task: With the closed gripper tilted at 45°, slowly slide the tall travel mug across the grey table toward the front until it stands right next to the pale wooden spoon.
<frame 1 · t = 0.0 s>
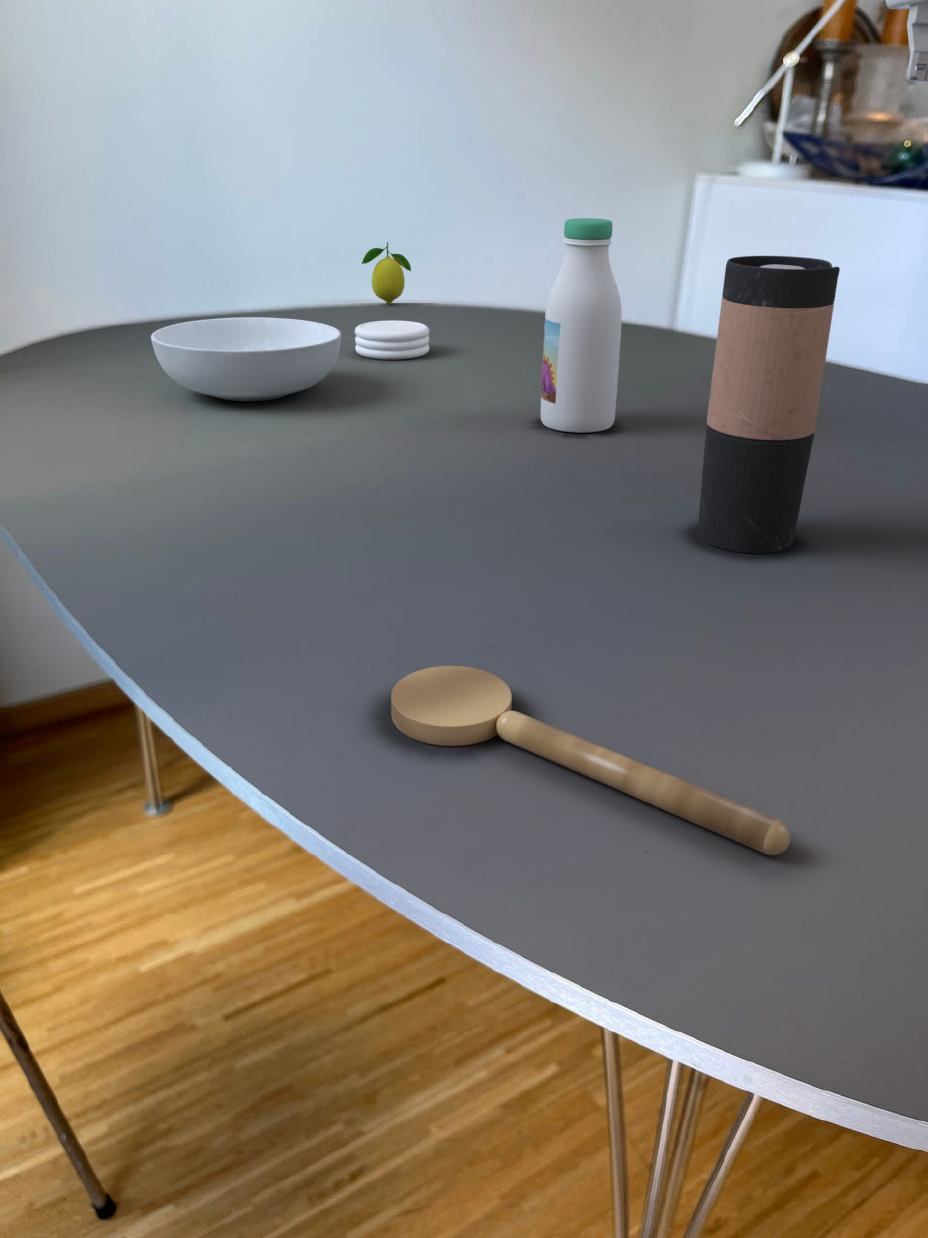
coaster: (392, 354, 139), on the table
wooden spoon: (559, 760, 51), on the table
serving bowl: (252, 394, 119), on the table
lemon: (387, 305, 175), on the table
milk bottle: (576, 426, 108), on the table
travel mug: (744, 538, 79), on the table
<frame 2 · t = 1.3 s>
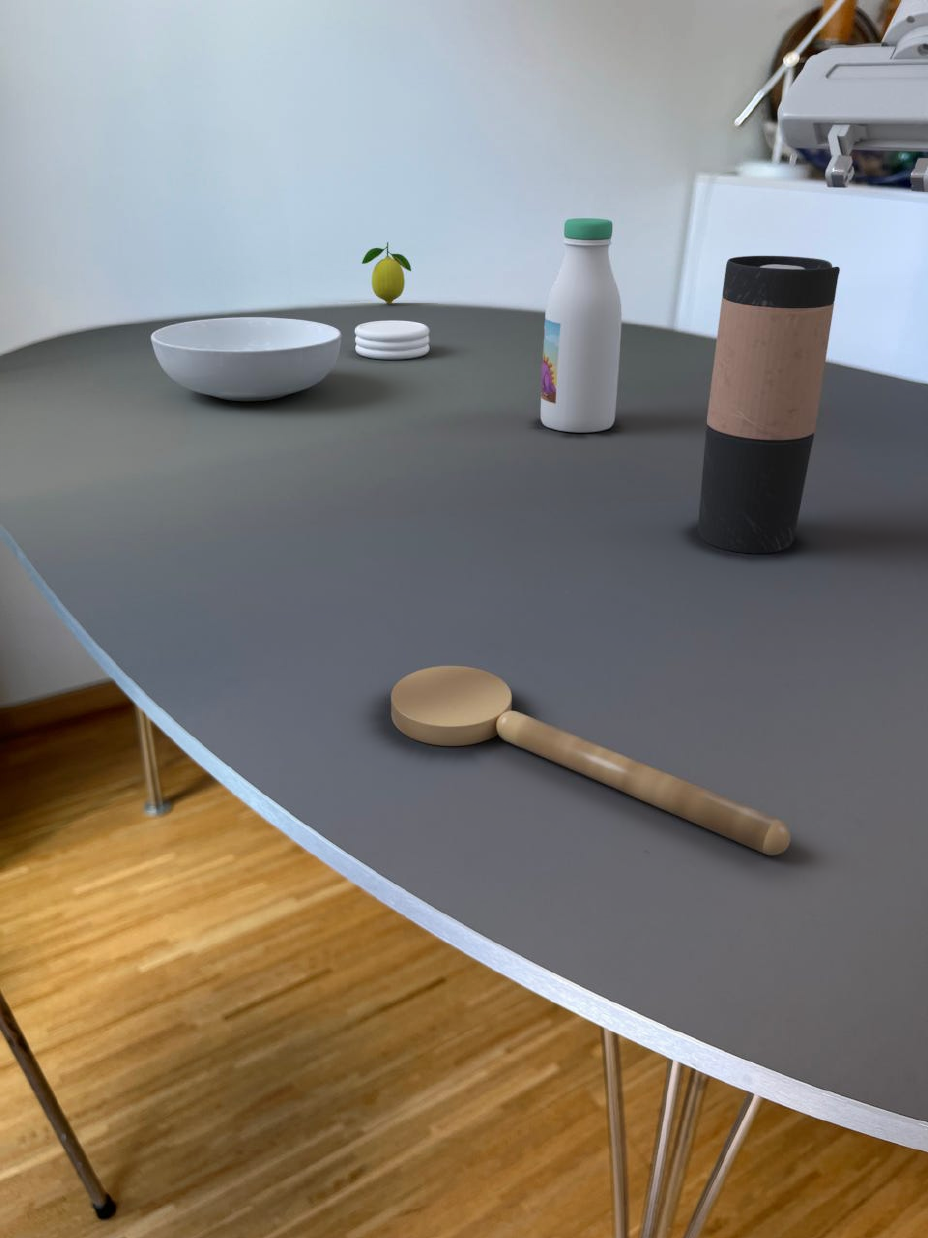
hand: (876, 183, 78), 24 cm above the table, tool tilted 45°, fingers open, 5 cm apart
nothing on the table moved.
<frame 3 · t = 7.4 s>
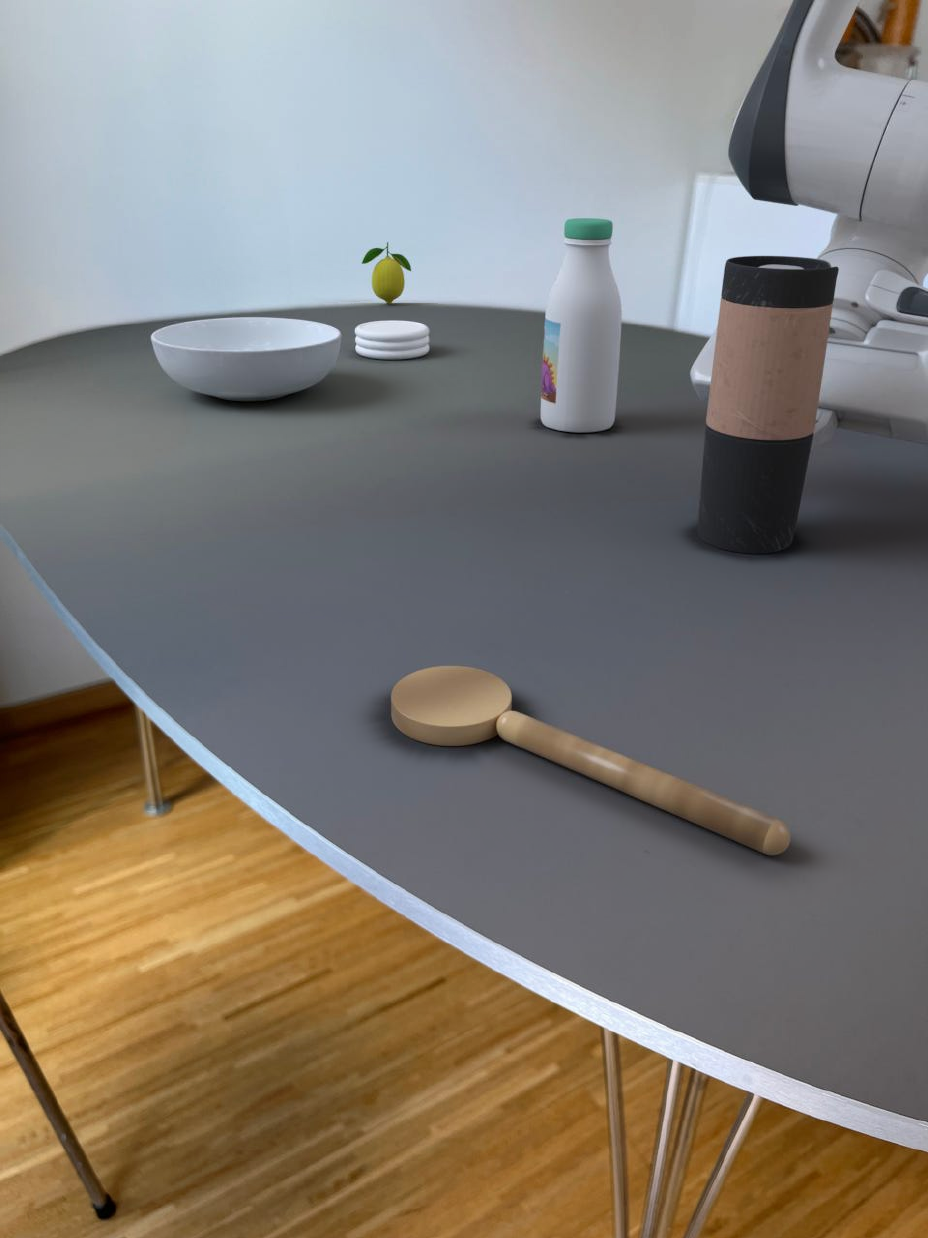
hand: (780, 462, 80), 5 cm above the table, tool tilted 45°, fingers closed
travel mug: (744, 538, 79), on the table, touching gripper
everything else where it was.
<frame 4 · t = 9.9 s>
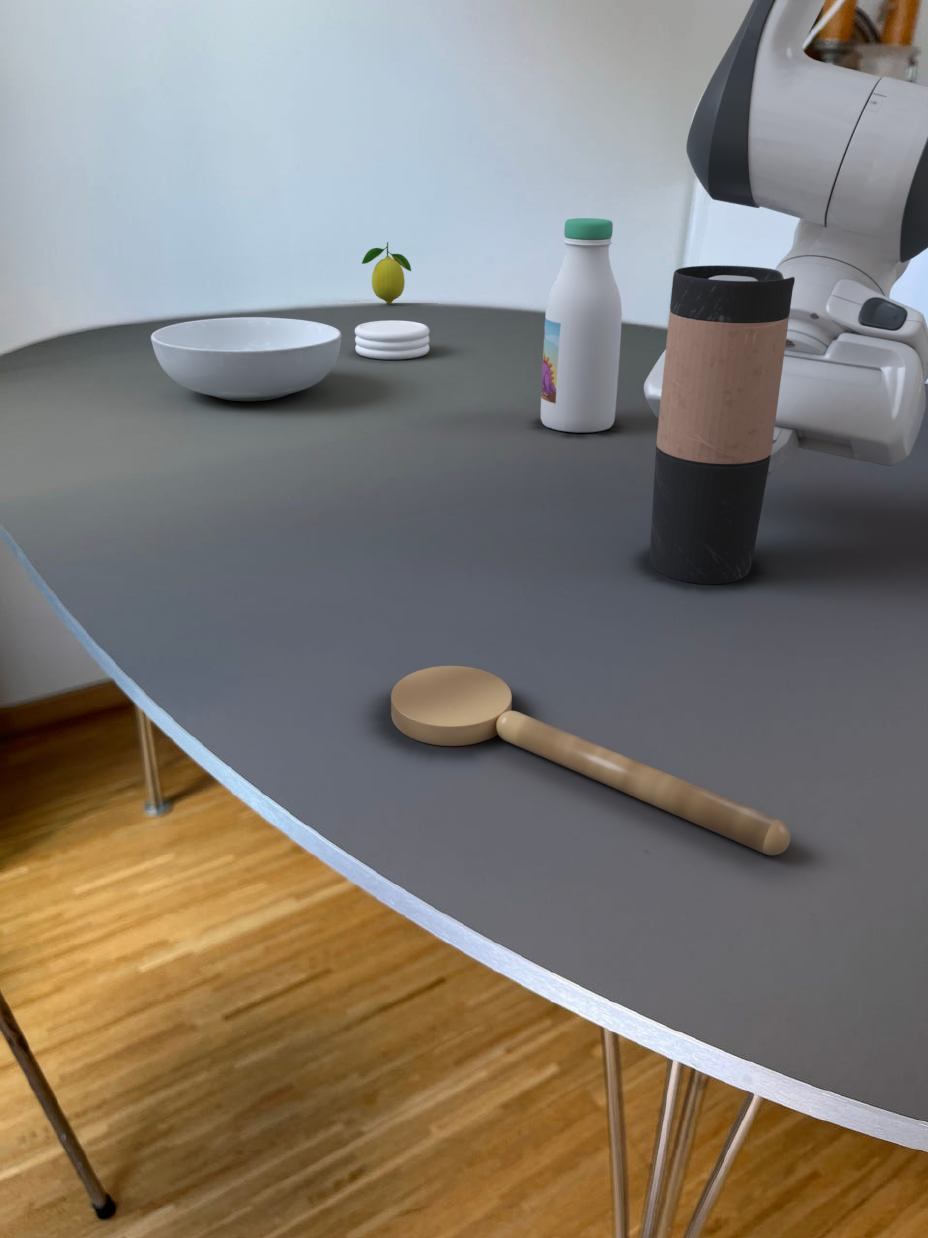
hand: (736, 484, 75), 5 cm above the table, tool tilted 45°, fingers closed
travel mug: (699, 567, 74), on the table, touching gripper
everything else where it was.
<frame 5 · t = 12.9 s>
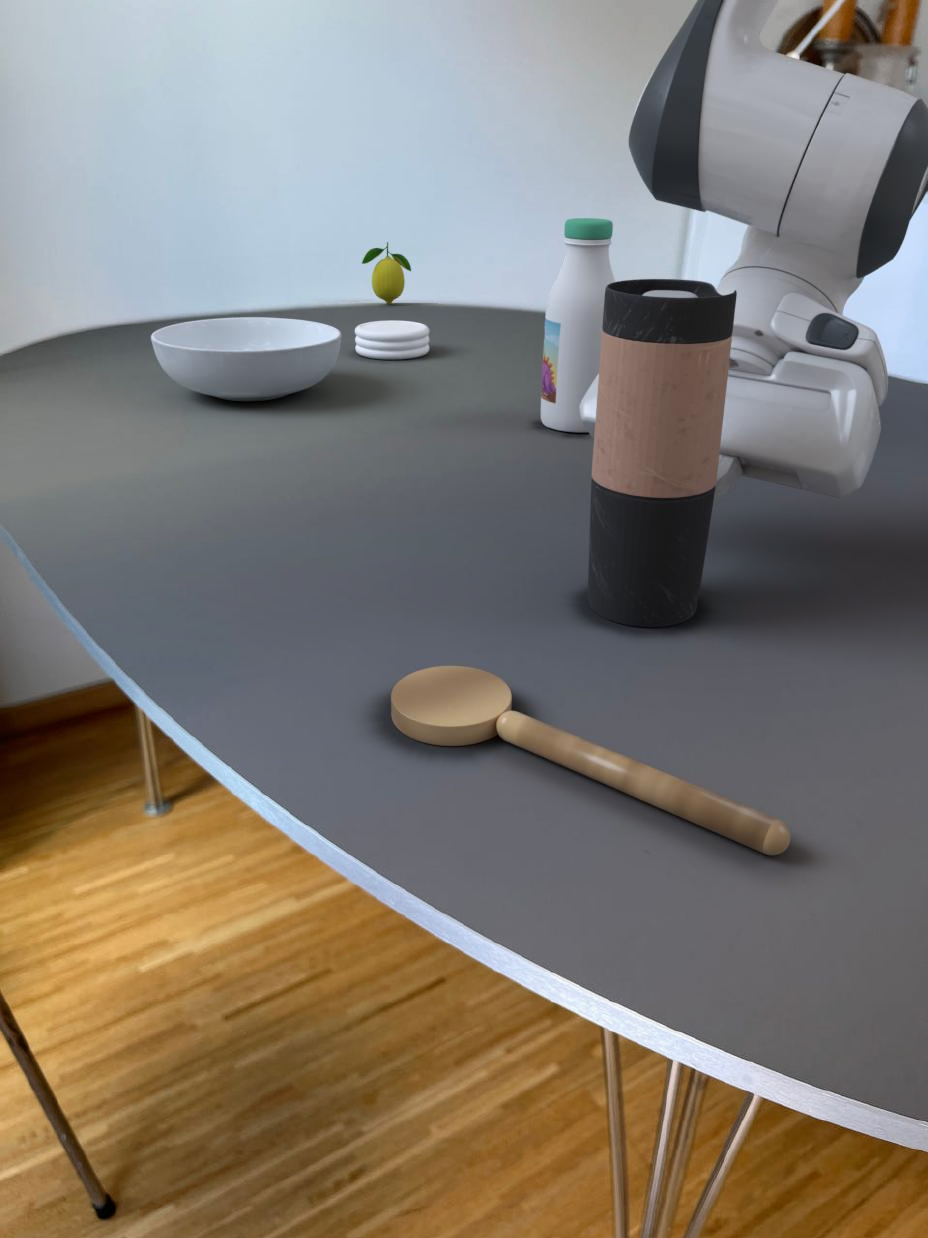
hand: (674, 516, 69), 5 cm above the table, tool tilted 45°, fingers closed, pressing on travel mug
travel mug: (641, 606, 68), on the table, touching gripper
everything else where it was.
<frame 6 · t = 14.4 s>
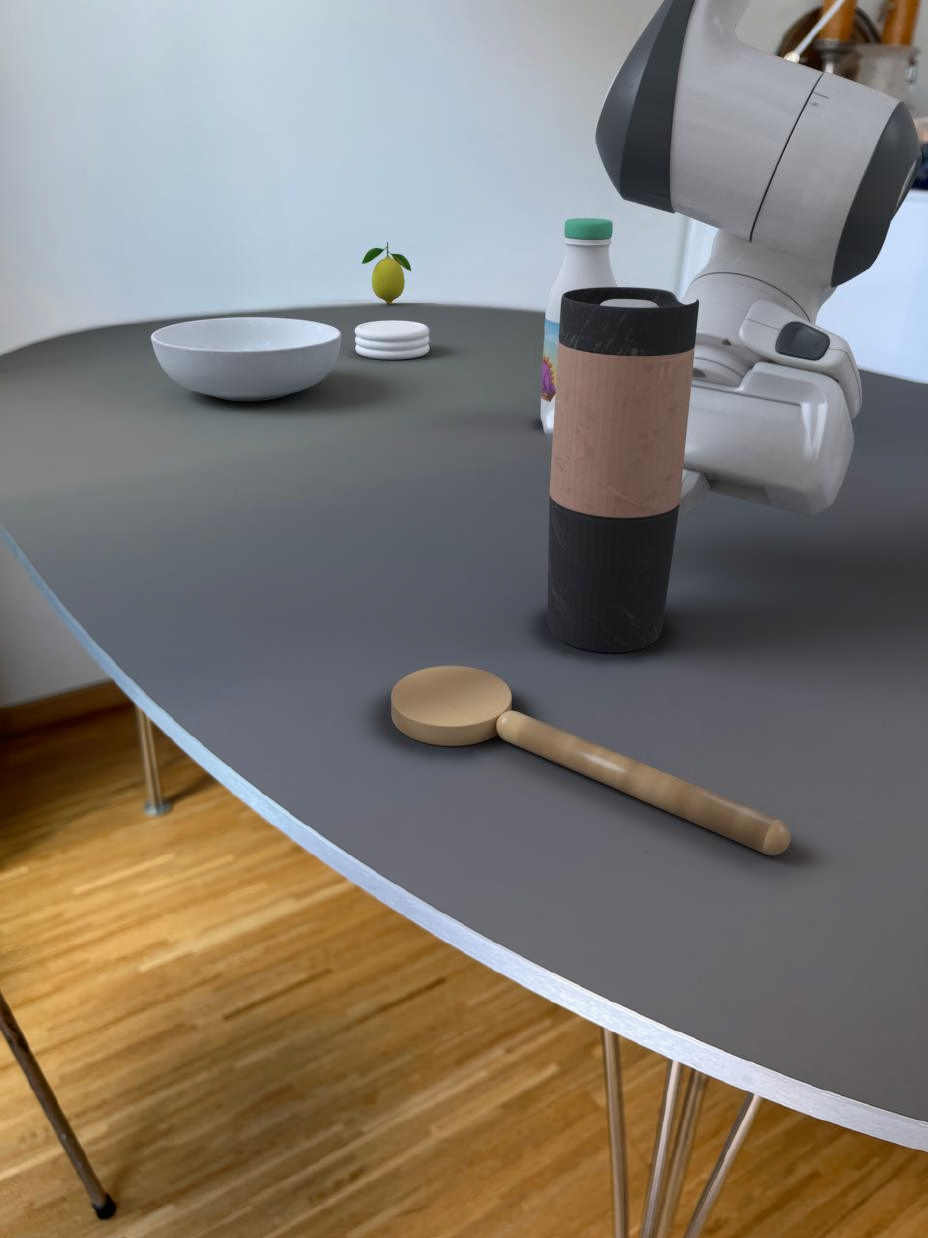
hand: (638, 534, 65), 5 cm above the table, tool tilted 45°, fingers closed, pressing on travel mug
travel mug: (603, 629, 65), on the table, touching gripper
everything else where it was.
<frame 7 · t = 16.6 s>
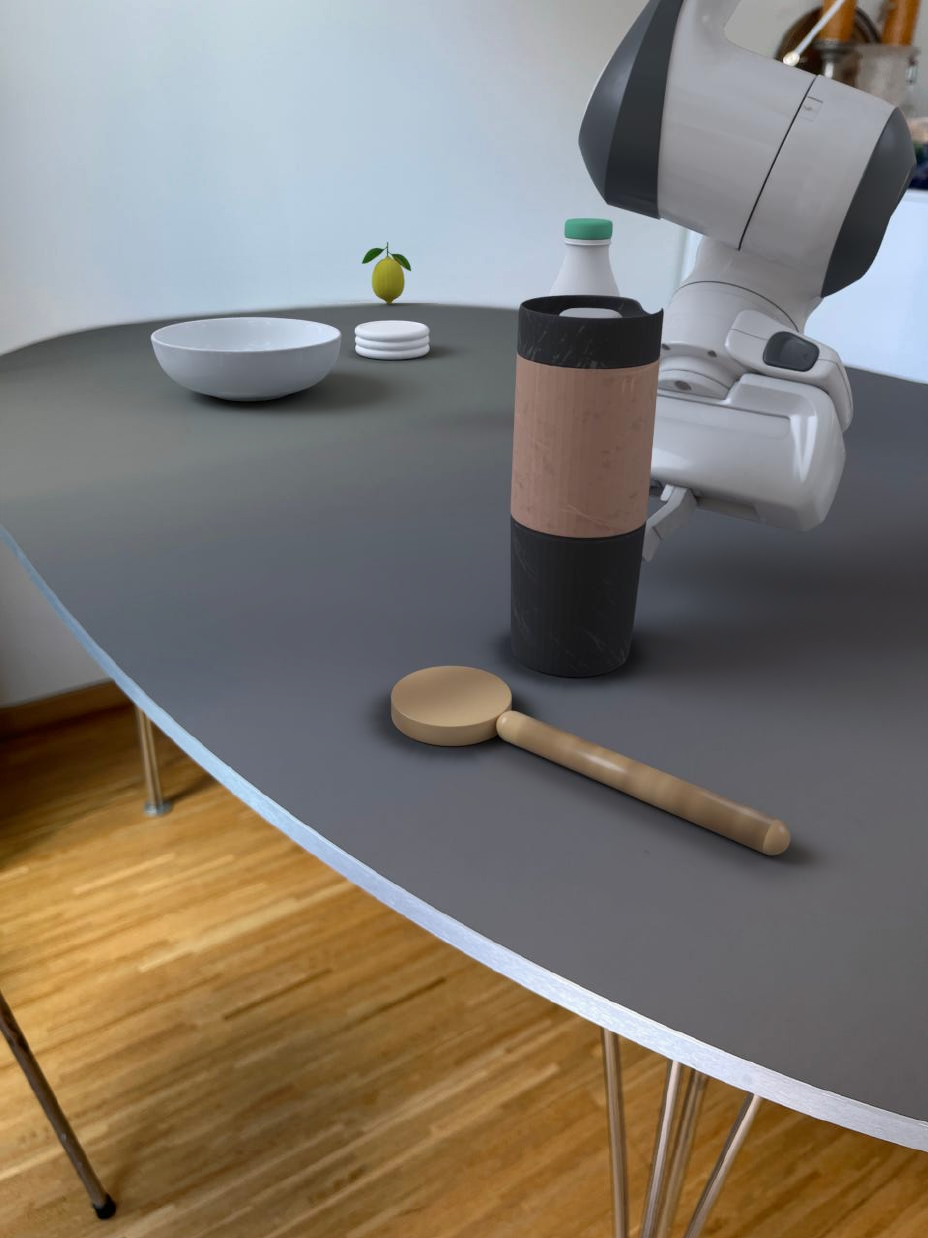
hand: (623, 553, 63), 5 cm above the table, tool tilted 45°, fingers closed
travel mug: (569, 652, 62), on the table
everything else where it was.
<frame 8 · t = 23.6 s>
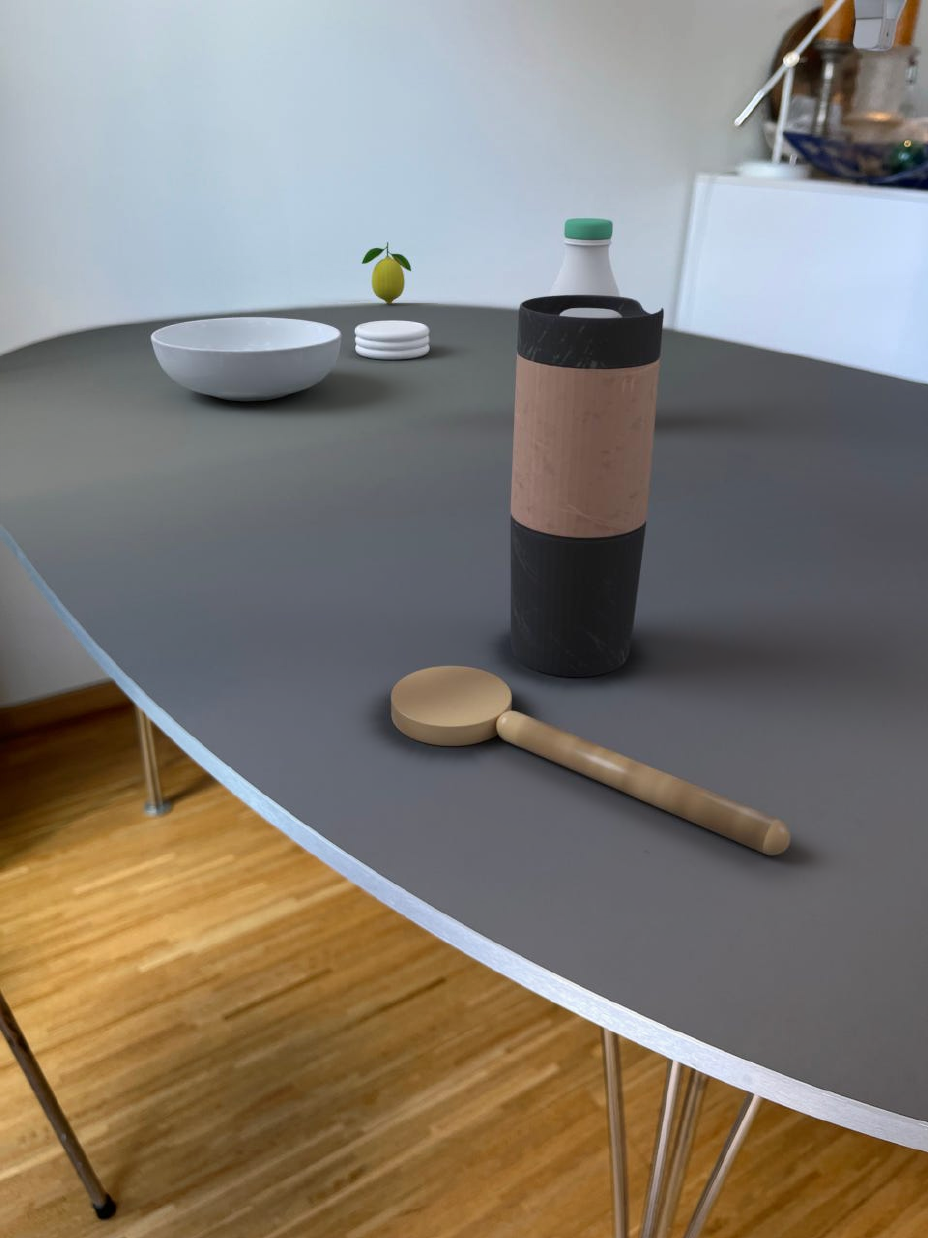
hand: (872, 49, 71), 33 cm above the table, tool pointing down, fingers closed
nothing on the table moved.
at the end: travel mug 12.1 cm from the wooden spoon (horizontally); travel mug tilted 0°; travel mug moved 24.2 cm from its start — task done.
